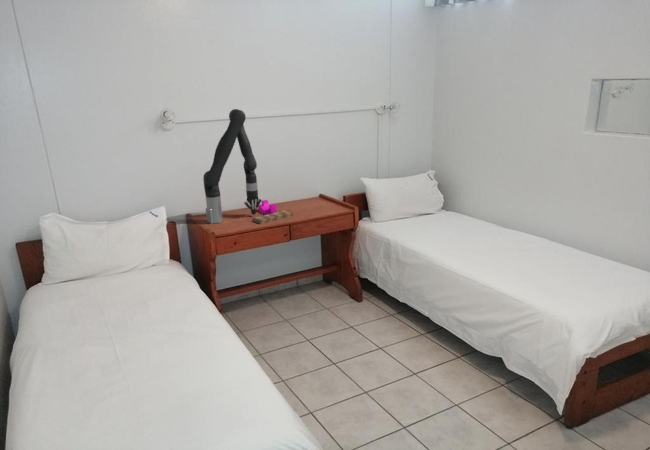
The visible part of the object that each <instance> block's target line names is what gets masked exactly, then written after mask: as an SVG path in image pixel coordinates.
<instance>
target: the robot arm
mask: <svg viewBox="0 0 650 450" xmlns="http://www.w3.org/2000/svg"><path fill="white" fill-rule="evenodd" d="M228 118H229V123H228V126H227V129H226V130H225V132H224V133H223V134H222V136H221V137H220V139H219V141H218V144H216V145H217V146H216V148H215V151H214V156H213V162H212V164H211V167H210V169H209V170H207V171H206V172H204V174H203V178H202V179H203V186H204V187H203V188H204V194H205V202H206V207H205V216H206V217H205V218H206V223H209V224H211V225H212V224H213V225H214V224H219V223H222V222H224V221H223V210H222V199H221V191H220V186H219V185H220V184H219V183H220V181H221V177H222V174H223V171H224V168H225V166H226V164H227V162H228V160H229V158H230V156H231V153H232V151H233V148H234V146H235V143H236V140H237V142H238V146H239V151H240V153H241V156H242V158H243V159H244V161H243V170H244V174H245V175H244V176H245V192H246V201H243V204H244V205H245V206H246V207H247V208H248V209H249V210H250V213H251V215H256V213H257V212H256V210H257V208H258V209H259V205H261V203H262V199H260V198H259V189H258V180H257V174H256V172H255V170H256V169H257V167H258V165H257V161H256V160H257V159H256V158H255V155H254V153H253V150H252V149H253V148H252V146H251V143H250V140H249V137H248V135H247V133H246V129H245V125H244V123H245V122H246V113H245V112H244V111H243V110H241V109H238V108H237V109H236V108H233V109H232V110H230V112H229V113H228Z"/></svg>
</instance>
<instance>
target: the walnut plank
mask: <svg viewBox="0 0 650 450" xmlns="http://www.w3.org/2000/svg"><path fill="white" fill-rule="evenodd" d="M289 217H293V212H291V211H288V210H284V209H283V210H281V211H276V212H275V213H271V214H266V215H265V214H264V215H260V216H256V217H252V222H253V223H256V224H259V225H262V224H265V223H266V224H267V223H270V222H274V221H277V220H282V219H285V218H289Z"/></svg>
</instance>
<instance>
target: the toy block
mask: <svg viewBox="0 0 650 450" xmlns="http://www.w3.org/2000/svg"><path fill="white" fill-rule="evenodd" d="M258 212H259V213H261V214H264V215H267V214H271V213H275V212H277V204H276V203H271V204H269V200H268V199H264V200H262V199H261V204H259V206H258Z"/></svg>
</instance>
